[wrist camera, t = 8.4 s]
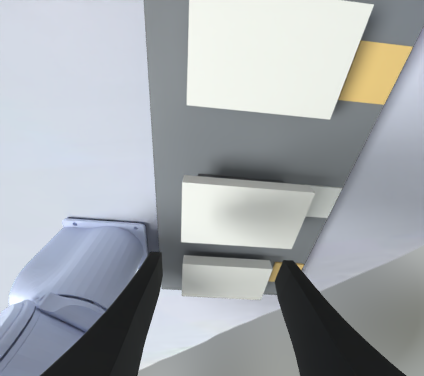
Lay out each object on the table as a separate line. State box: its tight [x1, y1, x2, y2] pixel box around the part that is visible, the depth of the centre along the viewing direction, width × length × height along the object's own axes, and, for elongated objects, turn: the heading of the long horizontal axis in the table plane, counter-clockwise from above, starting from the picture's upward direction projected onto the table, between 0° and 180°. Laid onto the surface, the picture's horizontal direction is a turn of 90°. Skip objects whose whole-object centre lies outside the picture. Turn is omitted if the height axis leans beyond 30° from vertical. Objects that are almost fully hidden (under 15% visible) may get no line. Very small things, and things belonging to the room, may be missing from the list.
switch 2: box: [181, 175, 315, 249], centre depth 16 cm, size 10×6×1 cm, turn 85°
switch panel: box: [144, 0, 424, 295], centre depth 20 cm, size 18×32×2 cm, turn 175°
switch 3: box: [182, 255, 273, 300], centre depth 23 cm, size 10×6×1 cm, turn 85°
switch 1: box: [187, 0, 374, 120], centre depth 12 cm, size 10×6×1 cm, turn 85°
